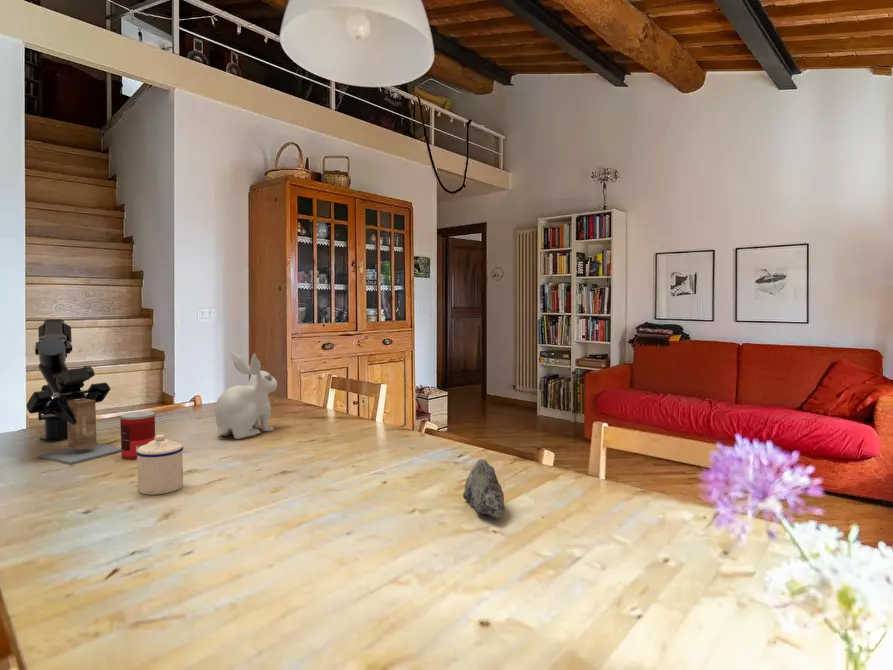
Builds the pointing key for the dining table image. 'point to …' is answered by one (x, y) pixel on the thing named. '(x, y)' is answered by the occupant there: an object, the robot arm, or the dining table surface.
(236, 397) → the rabbit
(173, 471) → the lidded ceramic jar
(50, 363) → the robot arm
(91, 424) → the wooden block
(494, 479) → the mineral rock
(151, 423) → the canned food
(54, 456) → the flat gray square pad
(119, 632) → the dining table surface
